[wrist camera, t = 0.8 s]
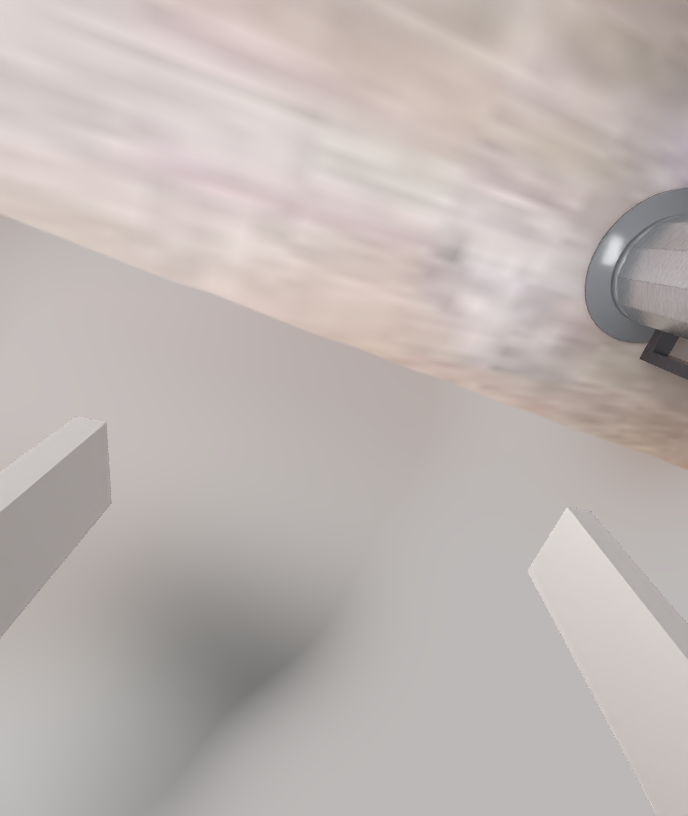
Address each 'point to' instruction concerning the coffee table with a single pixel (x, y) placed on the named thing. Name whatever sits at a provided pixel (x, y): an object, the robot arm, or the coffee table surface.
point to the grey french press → (656, 288)
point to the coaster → (608, 255)
